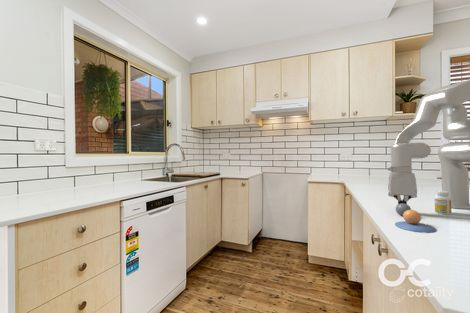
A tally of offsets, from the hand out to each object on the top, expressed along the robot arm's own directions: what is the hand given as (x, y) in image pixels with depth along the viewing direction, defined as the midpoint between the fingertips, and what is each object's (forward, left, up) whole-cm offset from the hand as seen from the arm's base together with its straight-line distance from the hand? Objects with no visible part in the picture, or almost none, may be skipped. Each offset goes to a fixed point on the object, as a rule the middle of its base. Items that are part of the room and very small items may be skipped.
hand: (402, 209), depth 100 cm
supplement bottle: (-5, +16, -2) cm, 16 cm away
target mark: (+21, 0, -2) cm, 21 cm away
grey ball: (+6, -1, +1) cm, 6 cm away
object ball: (+17, 0, +1) cm, 17 cm away
